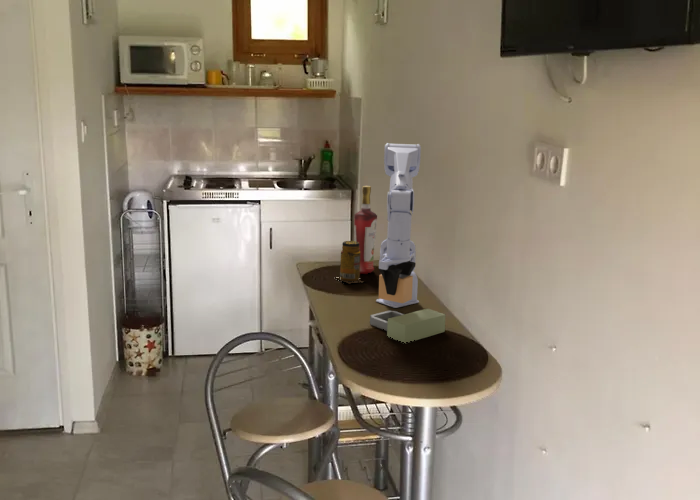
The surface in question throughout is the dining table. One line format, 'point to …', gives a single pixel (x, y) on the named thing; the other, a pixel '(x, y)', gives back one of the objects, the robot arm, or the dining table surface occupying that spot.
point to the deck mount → (410, 324)
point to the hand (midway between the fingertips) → (396, 292)
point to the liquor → (365, 232)
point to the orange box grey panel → (402, 291)
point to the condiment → (350, 261)
